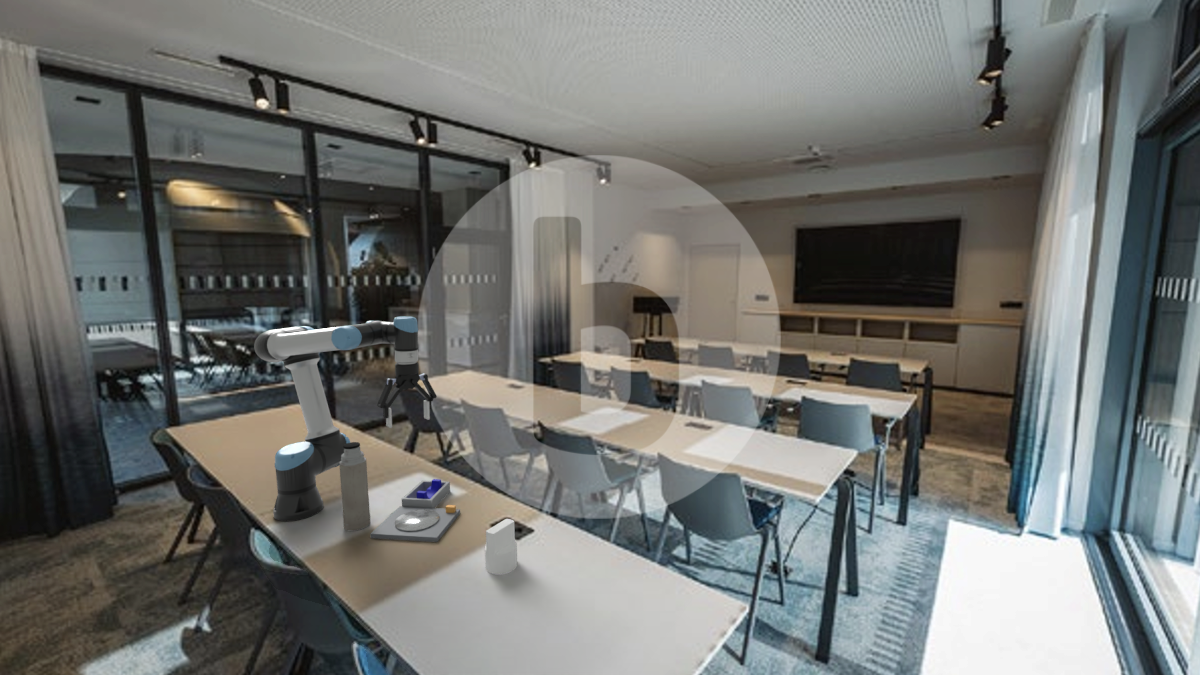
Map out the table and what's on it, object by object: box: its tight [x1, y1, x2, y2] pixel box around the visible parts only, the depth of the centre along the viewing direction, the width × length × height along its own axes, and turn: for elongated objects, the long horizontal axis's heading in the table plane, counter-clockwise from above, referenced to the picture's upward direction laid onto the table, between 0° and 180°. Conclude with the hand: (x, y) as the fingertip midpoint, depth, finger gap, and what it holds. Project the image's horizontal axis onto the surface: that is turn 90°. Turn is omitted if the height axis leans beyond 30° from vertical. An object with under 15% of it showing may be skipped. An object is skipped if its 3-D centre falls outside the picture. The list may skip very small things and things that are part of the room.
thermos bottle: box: [338, 441, 371, 532], centre depth 169 cm, size 8×8×28 cm
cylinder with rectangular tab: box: [484, 518, 518, 576], centre depth 146 cm, size 9×9×12 cm
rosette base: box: [369, 504, 461, 543], centre depth 170 cm, size 22×19×4 cm
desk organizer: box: [401, 480, 451, 508], centre depth 188 cm, size 11×16×4 cm
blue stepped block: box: [417, 478, 442, 499], centre depth 188 cm, size 12×4×6 cm, turn 169°
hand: (408, 422), depth 177 cm, fingers open, 13 cm apart
